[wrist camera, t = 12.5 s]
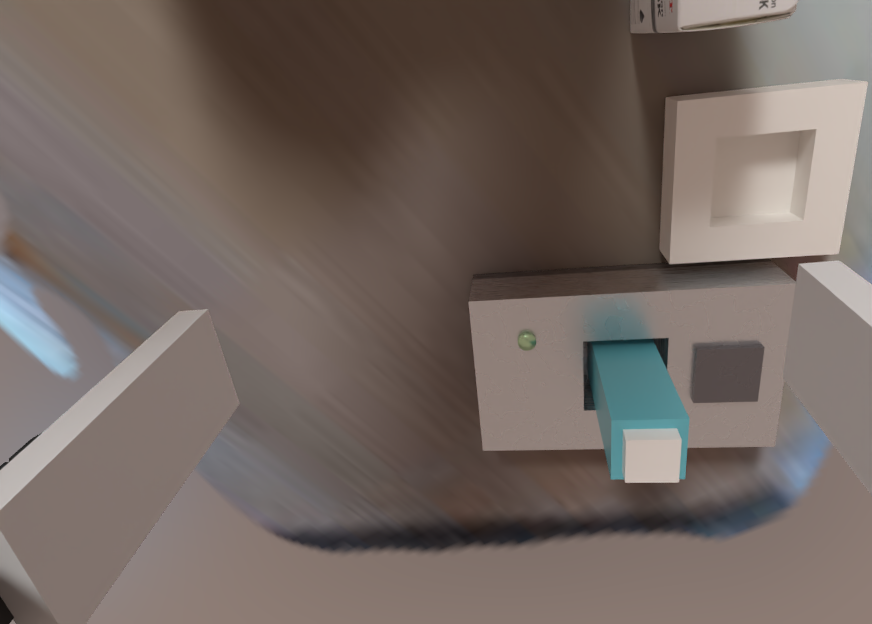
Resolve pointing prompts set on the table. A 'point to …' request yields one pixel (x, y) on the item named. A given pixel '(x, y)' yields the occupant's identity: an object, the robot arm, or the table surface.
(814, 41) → the table surface
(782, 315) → the port panel
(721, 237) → the holster
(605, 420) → the plug
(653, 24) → the ink box
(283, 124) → the table surface
